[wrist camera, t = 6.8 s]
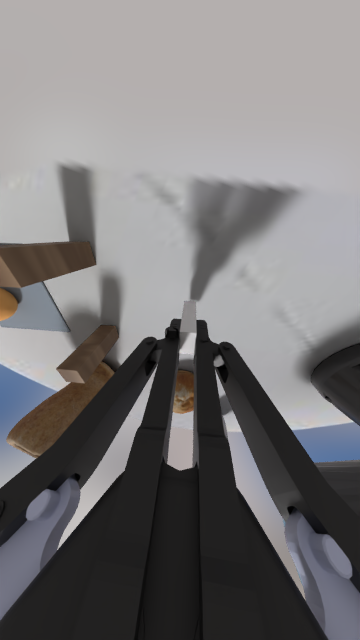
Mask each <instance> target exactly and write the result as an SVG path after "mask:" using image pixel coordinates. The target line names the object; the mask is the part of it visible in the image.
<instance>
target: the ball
mask: <svg viewBox="0 0 360 640" xmlns="http://www.w3.org/2000/svg"><path fill="white" fill-rule="evenodd" d="M17 308H18V302H17V300H16V298H15V297H14V296H13V295H12V294H11V293H10V292H8V291H6V290H4V289H2V288H0V321H2V320H5V319H8V318H9V317H11V316H12V315H13V314H14V313H15V312H16V311H17Z"/></svg>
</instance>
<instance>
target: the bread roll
mask: <svg viewBox="0 0 360 640" xmlns="http://www.w3.org/2000/svg"><path fill="white" fill-rule="evenodd" d="M193 410H194V374H193V373H191V372H189V371H183V370H178V371H177V379H176V388H175V396H174V404H173V412H175V413H180V414H184V413H187V412H191V411H193Z"/></svg>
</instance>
